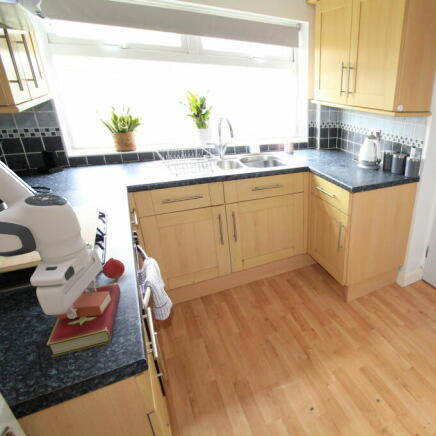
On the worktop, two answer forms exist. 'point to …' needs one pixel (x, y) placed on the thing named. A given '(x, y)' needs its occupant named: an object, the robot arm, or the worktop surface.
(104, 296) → the pocket book
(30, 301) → the worktop surface
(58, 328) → the hardcover book
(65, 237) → the robot arm
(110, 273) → the red round piece
